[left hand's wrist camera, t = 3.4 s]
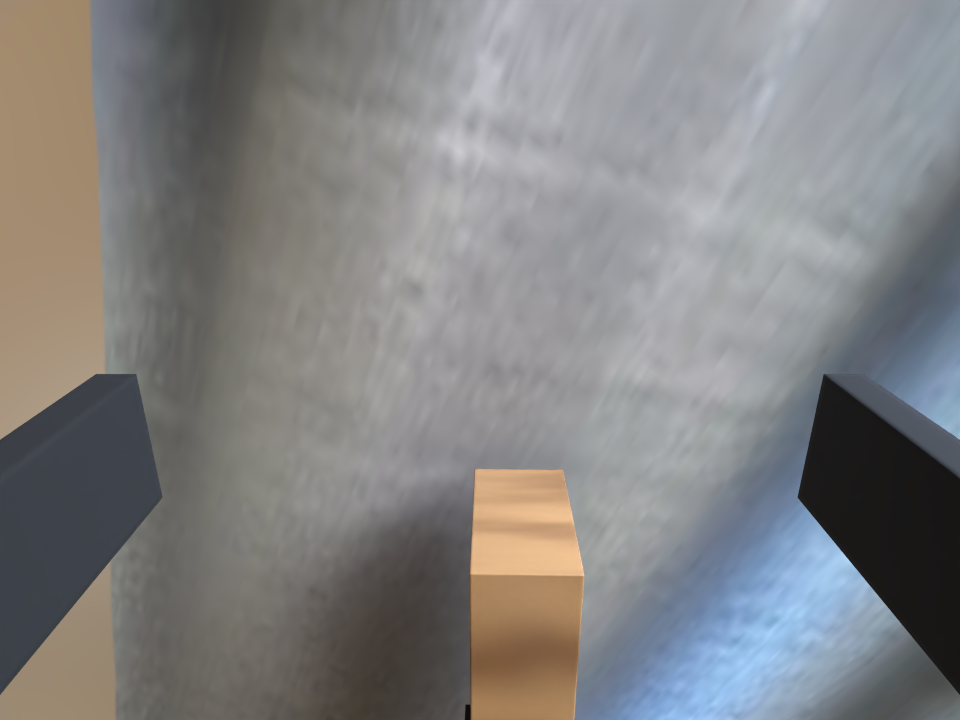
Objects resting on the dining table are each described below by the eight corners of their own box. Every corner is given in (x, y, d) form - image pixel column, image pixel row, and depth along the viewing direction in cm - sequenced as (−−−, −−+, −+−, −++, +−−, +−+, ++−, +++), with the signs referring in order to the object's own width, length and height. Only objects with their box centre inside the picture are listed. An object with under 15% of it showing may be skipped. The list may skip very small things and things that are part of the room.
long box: (474, 468, 43) (469, 573, 33) (563, 469, 43) (584, 575, 33) (475, 742, 53) (471, 889, 43) (548, 743, 52) (562, 891, 42)
